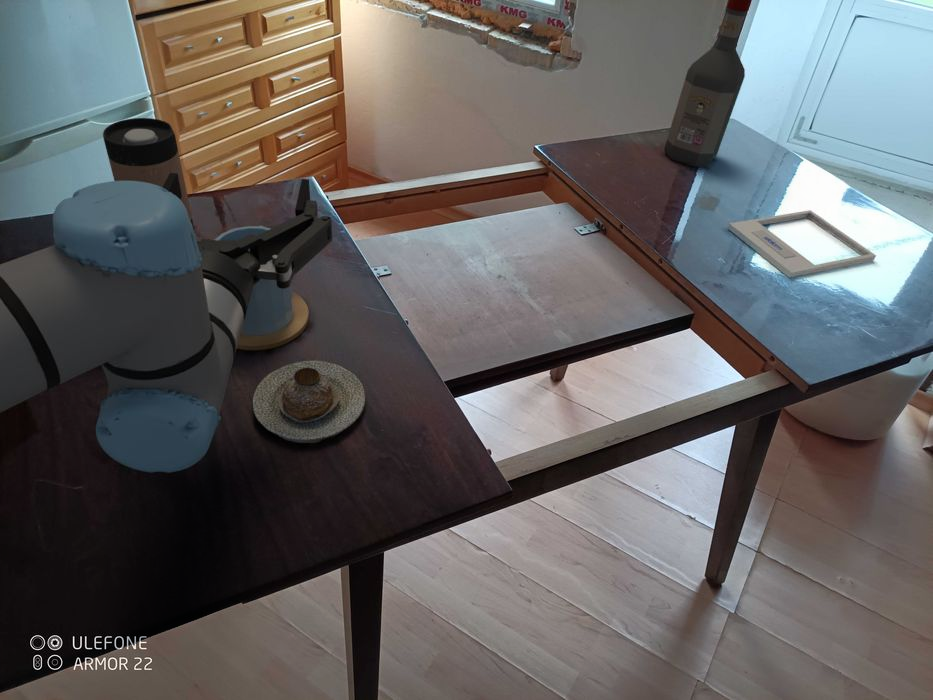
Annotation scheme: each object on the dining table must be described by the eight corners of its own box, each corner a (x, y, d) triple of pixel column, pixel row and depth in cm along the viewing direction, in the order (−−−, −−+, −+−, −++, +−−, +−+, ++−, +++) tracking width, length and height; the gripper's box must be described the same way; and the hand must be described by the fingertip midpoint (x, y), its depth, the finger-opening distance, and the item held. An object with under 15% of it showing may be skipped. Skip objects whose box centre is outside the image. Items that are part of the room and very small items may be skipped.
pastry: (232, 399, 75) (226, 368, 72) (323, 354, 82) (321, 324, 79) (294, 465, 69) (291, 434, 66) (387, 410, 76) (388, 380, 73)
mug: (290, 336, 82) (283, 267, 76) (217, 334, 81) (204, 264, 75) (300, 281, 91) (294, 214, 84) (235, 278, 90) (224, 211, 83)
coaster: (187, 328, 83) (186, 323, 82) (252, 279, 91) (251, 275, 91) (268, 363, 80) (267, 358, 79) (327, 309, 88) (327, 304, 88)
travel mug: (128, 285, 88) (85, 136, 75) (164, 255, 94) (131, 112, 81) (180, 299, 87) (146, 151, 74) (214, 268, 92) (188, 125, 79)
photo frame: (729, 222, 113) (810, 209, 119) (727, 228, 114) (808, 214, 120) (792, 271, 103) (876, 254, 109) (789, 277, 104) (873, 260, 110)
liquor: (705, 171, 130) (765, -1, 110) (659, 156, 133) (710, -13, 113) (718, 155, 136) (777, -10, 116) (674, 141, 139) (724, -22, 119)
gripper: (56, 339, 59) (128, 213, 75) (349, 345, 62) (359, 222, 78) (27, 267, 54) (111, 148, 70) (347, 277, 57) (358, 161, 73)
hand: (241, 187), depth 74 cm, fingers open, 13 cm apart
